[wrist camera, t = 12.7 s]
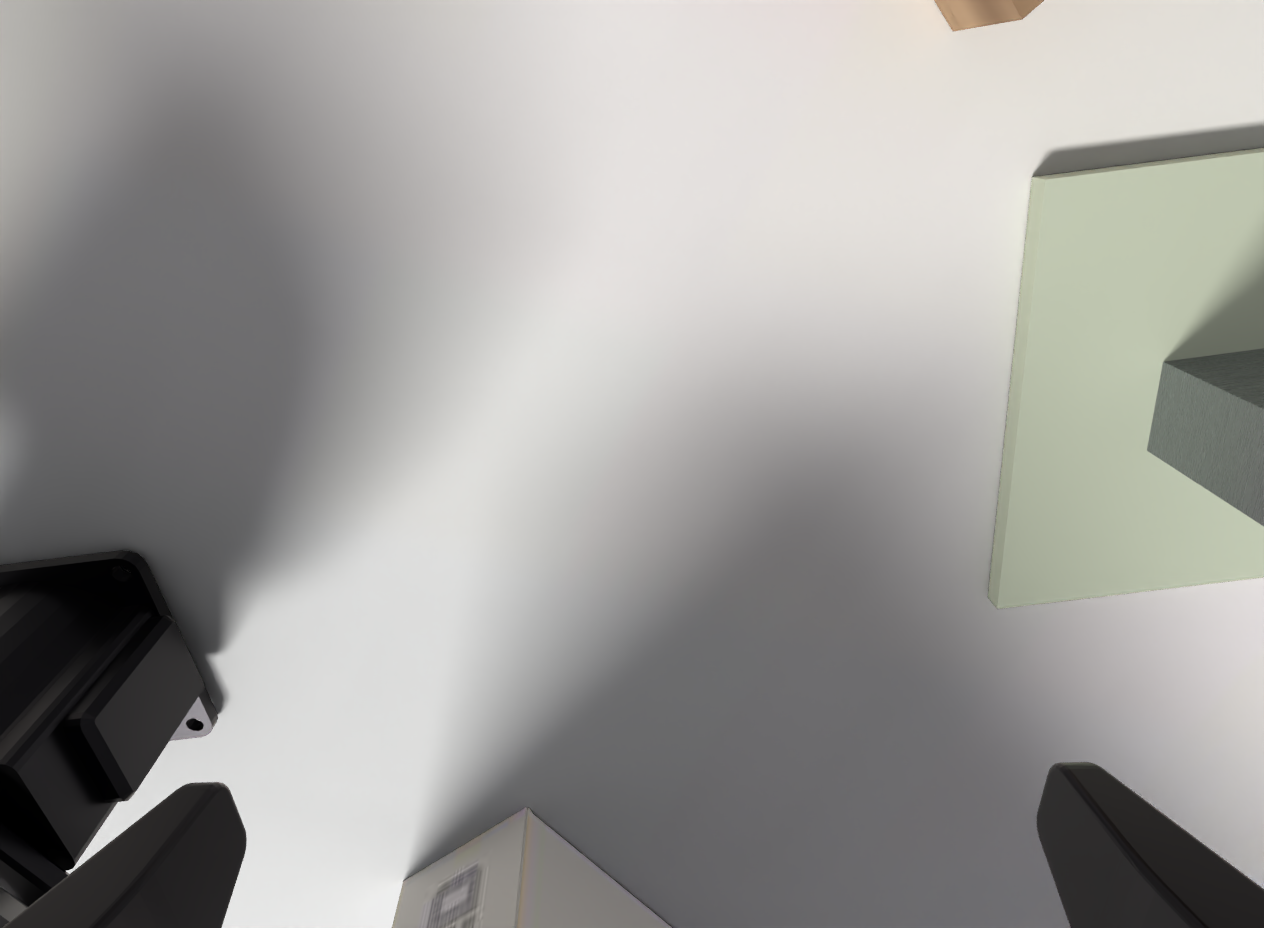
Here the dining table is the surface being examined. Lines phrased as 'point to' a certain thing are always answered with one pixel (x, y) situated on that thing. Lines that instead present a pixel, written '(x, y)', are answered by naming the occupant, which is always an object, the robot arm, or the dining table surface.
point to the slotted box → (984, 11)
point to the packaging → (518, 885)
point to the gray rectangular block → (1214, 425)
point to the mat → (1124, 377)
